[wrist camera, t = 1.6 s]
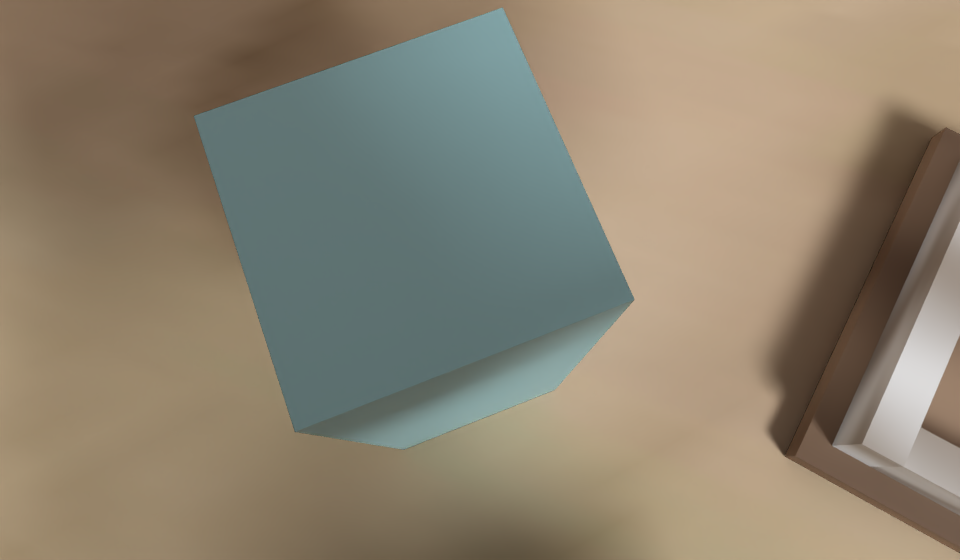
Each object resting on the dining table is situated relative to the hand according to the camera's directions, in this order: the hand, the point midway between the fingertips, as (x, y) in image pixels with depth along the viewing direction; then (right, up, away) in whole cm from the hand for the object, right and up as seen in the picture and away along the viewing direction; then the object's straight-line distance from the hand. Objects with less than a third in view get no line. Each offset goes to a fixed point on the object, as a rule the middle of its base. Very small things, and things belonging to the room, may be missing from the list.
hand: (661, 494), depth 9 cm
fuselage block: (-3, +1, +14) cm, 14 cm away
